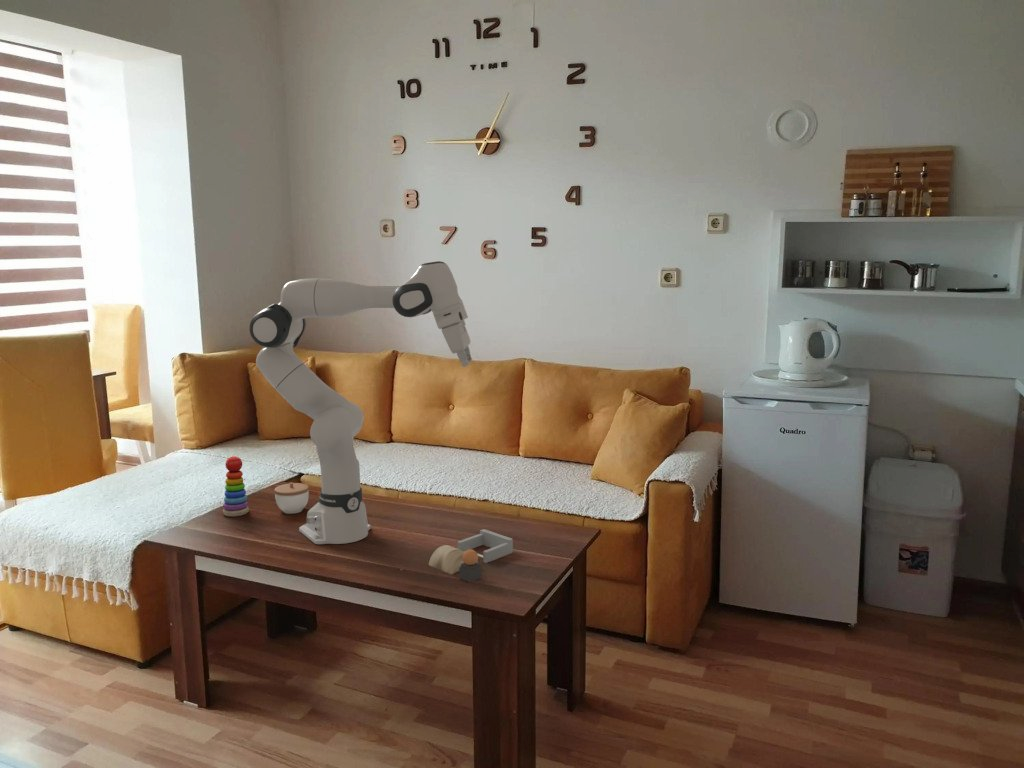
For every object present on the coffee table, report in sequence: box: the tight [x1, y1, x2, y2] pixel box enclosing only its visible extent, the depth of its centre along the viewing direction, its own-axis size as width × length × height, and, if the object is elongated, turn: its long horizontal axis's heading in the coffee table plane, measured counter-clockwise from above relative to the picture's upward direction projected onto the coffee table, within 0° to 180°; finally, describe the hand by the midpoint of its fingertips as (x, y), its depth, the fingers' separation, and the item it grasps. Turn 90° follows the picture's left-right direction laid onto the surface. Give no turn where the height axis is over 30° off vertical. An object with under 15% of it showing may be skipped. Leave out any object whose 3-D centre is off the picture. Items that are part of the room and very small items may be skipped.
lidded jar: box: [273, 482, 310, 515], centre depth 257 cm, size 11×11×9 cm
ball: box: [462, 549, 479, 565], centre depth 202 cm, size 4×4×4 cm
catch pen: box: [456, 528, 514, 564], centre depth 220 cm, size 12×10×4 cm
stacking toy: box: [222, 456, 250, 517], centre depth 254 cm, size 8×8×19 cm
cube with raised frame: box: [458, 562, 483, 583], centre depth 202 cm, size 4×4×4 cm
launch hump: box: [428, 544, 479, 575], centre depth 212 cm, size 9×10×10 cm
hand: (467, 363), depth 222 cm, fingers open, 8 cm apart
